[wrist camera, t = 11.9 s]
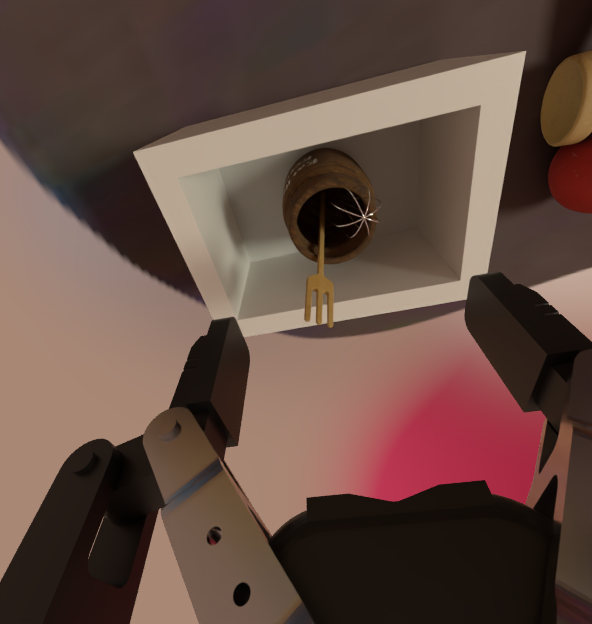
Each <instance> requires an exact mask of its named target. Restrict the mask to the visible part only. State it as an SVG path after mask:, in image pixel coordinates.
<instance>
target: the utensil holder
mask: <svg viewBox="0 0 592 624" xmlns="http://www.w3.org/2000/svg"><path fill="white" fill-rule="evenodd" d="M375 199H376V200H378V199H377V198H375V195H374V191H373V188H372V185H371V183H370V181H369V179H368V177H367V176H366V174H365V173H364V171H363V170H362V168H361V167H360V166H359V165H358V163H357V162H356V161H355V160H354V159H353V158H352V157H350V156H349V155H348V154H346V153H344V152H342V151H340V150H337V149H332V148H320V149H315V150H312V151H310V152H308V153H306V154H304V155H303V156H302V157H300V158H299V159H298V160H297V161H296V162H295V163H294V165H293V166H292V167H291V169H290V171H289V172H288V175H287V177H286V180H285V184H284V189H283V199H282V211H283V218H284V222H285V225H286V227H287V229H288V232H289V235H290V238H291V240H292V242H293V244H294V245H295V247H296V248H297V250H298V251H299V252H300V253H301V254H302V255H303V256H305V257H306V258H308V259H310V260H312V261H314V262H317V263H318V265H317V275H311V276H309V277H308V278H307V280H306V295H305V313H304V320H305V321H306V322H309V321H310V318H311V302H312V291H315V292H316V323H317V324H318V325H320V324H322V306H323V293H324V294H326V295H327V326H328V327H330V328H332V327H333V301H334V284H333V283H332V282H331V281H330V280H329V279H327V278H326V277H325V276H324V274H323V272H324V264H339V263H343V262H346V261H348V260H351V259H353V258H354V257H356V256H357V255H359V254H360V253H361V252H362V251H363V250H364V249H365V248H366V247H367V246H368V244H369V243H370V241H371V240H372V238H373V236H374V233H375V230H376V225H377V222H379V221H380V220H379V219H377V210H378V209H379V208H380V207H381V205H382V202H381V201H380V200H378V201H380V202H381V205H380V207H379V208H378V209H376V204H375ZM377 220H379V221H377ZM379 223H381V221H380V222H379Z"/></svg>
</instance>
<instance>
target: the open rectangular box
mask: <svg viewBox="0 0 592 624" xmlns="http://www.w3.org/2000/svg"><path fill="white" fill-rule="evenodd" d="M525 54H526V51H520V52H511V53H501V54H492V55H482V56H473V57H463V58H454V59H444V60H438V61H434V62H430V63H427V64H423V65H419V66H415V67H411V68H408V69H404V70H400V71H396V72H392V73H388V74H385V75H381V76H377V77H373V78H369V79H366V80H362V81H358V82H354V83H350V84H346V85H343V86H339V87H335V88H331V89H327V90H324V91H320V92H316V93H312V94H308V95H304V96H301V97H297V98H293V99H289V100H285V101H282V102H278V103H274V104H270V105H266V106H262V107H259V108H255V109H251V110H247V111H243V112H240V113H236V114H232V115H228V116H224V117H220V118H217V119H213V120H209V121H205V122H201V123H198V124H194V125H190V126H186V127H184V128H182V129H180V130H178V131H176V132H174V133H171V134H169V135H167V136H165V137H163V138H161V139H159V140H157V141H155V142H153V143H151V144H148V145H146V146H144V147H142V148H140V149H138V150H136V151H134V152H133V154H134V156H135V158H136V160H137V162H138V164H139V166H140V168H141V170H142V172H143V174H144V176H145V179H146V181H147V183H148V185H149V187H150V189H151V191H152V193H153V195H154V197H155V199H156V201H157V204H158V206H159V208H160V210H161V212H162V214H163V216H164V218H165V220H166V222H167V224H168V226H169V229H170V231H171V233H172V235H173V237H174V239H175V241H176V243H177V245H178V247H179V249H180V251H181V254H182V256H183V258H184V260H185V262H186V264H187V266H188V268H189V270H190V272H191V274H192V276H193V279H194V281H195V283H196V285H197V287H198V289H199V291H200V293H201V295H202V297H203V299H204V301H205V303H206V306H207V308H208V310H209V312H210V314H211V316H212V318H213V320H216V319H222V318H228V317H235V319H236V320H237V323H238V325H239V327H240V330H241V332H242V335H243V337H248V336H254V335H260V334H265V333H271V332H277V331H283V330H289V329H295V328H301V327H307V326H313V325H318V324H317V323H316V292H315V291H312V302H311V318H310V321H309V322H306V321H305V320H304V313H305V295H306V280H307V278H308V277H309V276H311V275H317V265H318V263H317V262H314V261H312V260H310V259H308V258H306V257H305V256H303V255H302V254H301V253H300V252H299V251H298V250H297V248H296V247H295V245H294V244H293V242H292V240H291V238H290V235H289V232H288V229H287V227H286V225H285V222H284V218H283V211H282V199H283V189H284V184H285V180H286V177H287V175H288V172H289V171H290V169H291V167H292V166H293V165H294V163H295V162H296V161H297V160H298V159H299V158H300V157H302V156H303V155H304V154H306V153H308V152H310V151H312V150H315V149H320V148H332V149H337V150H340V151H342V152H344V153H346V154H348V155H349V156H350V157H352V158H353V159H354V160H355V161H356V162H357V163H358V165H359V166H360V167H361V168H362V170H363V171H364V173H365V174H366V176H367V177H368V179H369V181H370V183H371V185H372V188H373V191H374V195H375V198H377V199H378V200H380V201H381V202H382V205H381V202H380V201H378V200H376V199H375V204H376V209H378V208H379V207H380V205H381V207H380V208H379V209H378V210H377V219H379V220H380V221H381V223H379V222H380V221H379V220H377V221H379V222H377V225H376V230H375V233H374V236H373V238H372V240H371V241H370V243H369V244H368V246H367V247H366V248H365V249H364V250H363V251H362V252H361V253H360V254H359V255H357V256H356V257H354V258H353V259H351V260H348V261H346V262H343V263H339V264H324V272H323V274H324V276H325V277H326V278H327V279H329V280H330V281H331V282H332V283H333V284H334V301H333V322H336V321H342V320H348V319H354V318H360V317H365V316H371V315H377V314H383V313H389V312H395V311H401V310H406V309H412V308H418V307H424V306H430V305H436V304H442V303H448V302H453V301H459V300H465V299H467V294H468V288H469V282H470V279H471V277H472V276H475V275H481V274H486V273H487V272H488V266H489V260H490V254H491V249H492V243H493V237H494V232H495V226H496V220H497V214H498V209H499V203H500V197H501V192H502V186H503V180H504V174H505V169H506V163H507V157H508V152H509V146H510V140H511V134H512V129H513V123H514V117H515V112H516V106H517V100H518V94H519V89H520V83H521V77H522V72H523V66H524V60H525ZM324 323H327V295H326V294H324V293H323V306H322V324H324Z"/></svg>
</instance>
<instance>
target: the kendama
mask: <svg viewBox="0 0 592 624" xmlns="http://www.w3.org/2000/svg"><path fill="white" fill-rule="evenodd" d="M541 129H542V133H543V136H544V138H545V140H546V142H547V143H548V144H549V145H551V146H554V147H557V146H561V147H560V148H559V149H558V151H557V152H556V154H555V156H554V157H553V159H552V162H551V164H550V167H549V172H548V185H549V189H550V193H551V194H552V195H553V197H554V198H555V199H556V201H557V202H558V203H560V204H561V205H562V206H564V207H566V208H568V209H570V210H573V211H577V212H582V213H592V50H590V51H587V52H583V53H580V54H576V55H573V56H570V57H568V58H566V59H564V60H563V61H562V62H561V63H560V64H559V65H558V67H557V68H556V70H555V71H554V73H553V75H552V77H551V79H550V81H549V83H548V86H547V89H546V91H545V94H544V98H543V103H542V109H541Z"/></svg>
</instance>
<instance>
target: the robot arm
mask: <svg viewBox="0 0 592 624" xmlns="http://www.w3.org/2000/svg"><path fill="white" fill-rule="evenodd" d="M465 322H466V326H467V328H468V330H469V332H470V333H471V335H472V336H473V338H474V339H475V341H476V342H477V343H478V345H479V347H480V348H481V349H482V351H483V353H484V354H485V356H486V357H487V358H488V360H489V361H490V363H491V364H492V366H493V367H494V369H495V370H496V372H497V373H498V375H499V376H500V378H501V379H502V381H503V382H504V384H505V385H506V387H507V388H508V390H509V391H510V393H511V394H512V395H513V397H514V398H515V400H516V401H517V403H518V404H519V406H520V407H521V409H522V410H523V412H532V411H540V410H541V411H542V412H543V414H544V415H545V416H546V419H545V422H544V424H543V430H542V436H541V441H540V446H539V451H538V457H537V462H536V468H535V473H534V479H533V483H532V486H531V489H530V492H529V495H528V498H527V501H526V505H524V504H522V503H520V502H517V501H515V500H512V499H509V498H506V497H503V496H499V495H495V494H491V492H490V490H489V488H488V486H487V484H486V482H485V480H482V481H472V482H462V483H452V484H441V485H437V486H435V487H433V488H430V489H427V490H425V491H422V492H420V493H418V494H415V495H413V496H410V497H408V498H406V499H403V500H400V501H396V502H392V501H386V500H380V499H375V498H369V497H364V496H358V495H353V494H340V495H330V496H320V497H311V498H307V511H304V512H302V513H300V514H298V515H296V516H295V517H293V518H292V519H290V520H289V521H288V522H286V523H285V524H284V525H283V526H281V527H280V528H279V530H277V531H276V533H274V535H273V536H272V535H271V534H270V532H269V531H268V529H267V528H266V526H265V524H264V523H263V521H262V520H261V518H260V517H259V515H258V514H257V512H256V511H255V509H254V507H253V506H252V504H251V502H250V501H249V499H248V498H247V496H246V494H245V493H244V491H243V489H242V488H241V486H240V485H239V483H238V481H237V480H236V478H235V476H234V475H233V474H232V472H231V470H230V468H229V467H228V465H227V464H226V462H225V460H224V455H225V450H226V447H233V446H238V441H239V434H240V427H241V420H242V414H243V407H244V399H245V393H246V386H247V379H248V372H249V365H250V355H249V350H248V347H247V344H246V342H245V340H244V337H243V335H242V332H241V330H240V327H239V325H238V323H237V320H236V319H235V317H228V318H222V319H216V320H212V322H211V325H210V328H209V330H208V334H207V335H206V336H201V337H200V338H199V339H198V340H197V341H196V342H195V344H194V345H193V346H192V347H191V350H190V353H189V355H188V358H187V362H186V364H185V366H184V371H183V372H182V375H181V377H180V380H179V383H178V386H177V388H176V391H175V394H174V397H173V400H172V402H171V405H170V407H169V409H168V410H166V411H164V412H162V413H160V414H159V415H158V416H157V417H156V418H154V419H153V420H152V421H151V423H150V424H149V425H148V427H147V429H146V430H145V433H144V434H143V435H141V436H139V437H137V438H134V439H132V440H130V441H127V442H125V443H123V444H120V445H118V446H116V447H115V446H114V445H113V444H112V443H110V442H109V441H108V440H106V439H96V440H93V441H90V442H88V443H86V444H84V445H82V446H81V447H79V448H78V449H77V450H75V451H74V452H73V453H72V454H71V455H70V456H69V457H68V459H67V460H66V461H65V462H64V464H63V465H62V467H61V469H60V471H59V473H58V474H57V476H56V478H55V480H54V482H53V484H52V486H51V488H50V489H49V491H48V493H47V495H46V497H45V499H44V501H43V503H42V504H41V506H40V508H39V510H38V512H37V514H36V516H35V518H34V520H33V522H32V523H31V525H30V527H29V529H28V531H27V533H26V535H25V536H24V538H23V540H22V542H21V544H20V546H19V548H18V550H17V551H16V553H15V555H14V557H13V559H12V561H11V563H10V565H9V567H8V568H7V570H6V572H5V574H4V576H3V578H2V580H1V582H0V624H130V620H131V616H132V612H133V608H134V604H135V600H136V596H137V593H138V588H139V584H140V581H141V577H142V573H143V569H144V565H145V561H146V557H147V553H148V549H149V545H150V542H151V537H152V533H153V530H154V526H155V522H156V518H157V514H158V510H159V509H160V508H162V509H161V516H162V520H163V523H164V526H165V528H166V531H167V534H168V537H169V540H170V543H171V546H172V548H173V551H174V554H175V557H176V560H177V562H178V565H179V568H180V571H181V574H182V577H183V579H184V582H185V585H186V588H187V591H188V593H189V596H190V599H191V602H192V605H193V608H194V610H195V613H196V616H197V619H198V622H199V624H592V342H591V341H590V340H589V339H588V338H587V337H586V336H585V335H583V334H582V333H581V332H580V331H579V330H578V329H577V328H576V327H575V326H574V325H572V324H571V323H570V322H569V321H568V320H567V319H566V318H565V317H564V316H563V315H561V314H559V313H558V311H557V310H556V309H555V308H554V307H553V306H552V305H549V304H548V302H547V301H546V300H545V299H544V298H543V297H542V296H541V295H539V294H538V293H537V292H535V291H534V290H531V289H529V288H527V287H525V286H523V285H521V284H515V285H514V284H513V283H512V282H510V281H509V280H508V279H507V278H506V277H505V276H504V275H503V274H502V273H501V272H492V273H486V274H481V275H475V276H472V277H471V279H470V282H469V288H468V294H467V301H466V307H465ZM103 517H104V519H103V522H102V524H101V521H102V518H103ZM100 524H101V527H100ZM99 527H100V529H99ZM98 529H99V532H98ZM97 532H98V535H97ZM96 535H97V537H96ZM95 537H96V540H95ZM94 540H95V543H94ZM93 543H94V546H93V548H92V545H93ZM91 548H92V551H91ZM90 551H91V553H90ZM89 553H90V556H89ZM88 557H89V559H88Z"/></svg>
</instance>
